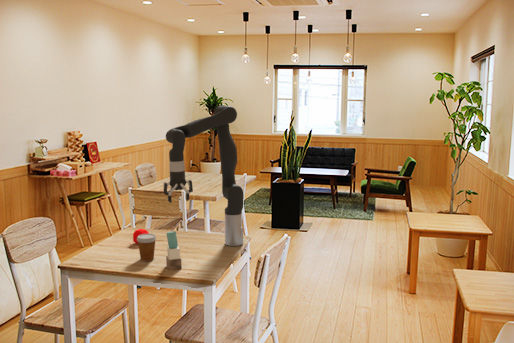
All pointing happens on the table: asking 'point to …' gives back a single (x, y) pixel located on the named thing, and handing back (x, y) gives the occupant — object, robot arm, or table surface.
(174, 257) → the cream block
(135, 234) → the red faceted polyhedron
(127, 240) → the table surface
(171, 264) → the walnut base block
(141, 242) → the disposable coffee cup
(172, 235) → the teal capsule
